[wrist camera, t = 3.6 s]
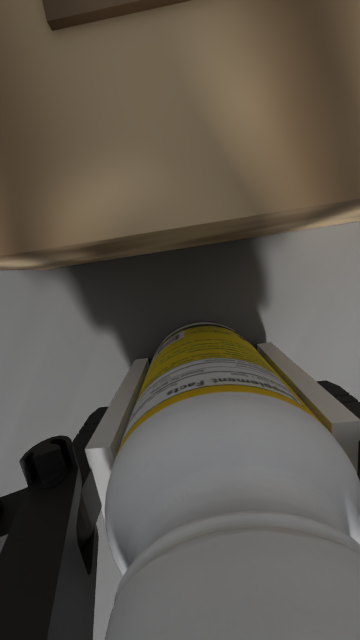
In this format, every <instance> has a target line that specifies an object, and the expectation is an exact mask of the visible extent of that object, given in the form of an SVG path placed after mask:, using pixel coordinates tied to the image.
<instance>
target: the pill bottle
mask: <svg viewBox="0 0 360 640" xmlns="http://www.w3.org/2000/svg"><path fill="white" fill-rule="evenodd" d="M105 525H106V532H107V538H108V542H109V545H110V549H111V552H112V554H113V557H114V560H115V562H116V564H117V566H118V567H119V569H120V571H121V573H122V575H123V577H122V580H121V582H120V584H119V587H118V590H117V592H116V596H115V601H114V607H113V609H112V612H111V615H110V619H109V624H108V628H107V633H106V637H105V640H360V480H359V478H358V475H357V473H356V471H355V469H354V467H353V465H352V463H351V461H350V459H349V458H348V456H347V454H346V453H345V451H344V450H343V449H342V447H341V446H340V445H339V443H338V442H337V441H336V439H335V438H334V437H333V435H332V434H331V433H330V432H329V430H328V429H327V428H326V427H325V426H324V425H323V424H322V423H321V421H320V420H319V419H318V418H317V417H316V416H315V415H314V414H313V412H312V411H311V410H310V409H309V408H308V407H307V406H306V405H305V403H304V402H303V401H302V400H301V399H300V398H299V397H298V396H297V394H296V393H295V392H294V391H293V390H292V389H291V387H290V386H288V384H287V383H286V382H285V381H284V380H283V379H282V378H281V377H280V376H279V375H278V373H277V372H276V371H275V370H274V369H273V368H272V367H271V366H270V365H269V364H268V362H267V361H266V360H265V359H264V358H263V357H262V356H261V355H260V353H259V352H258V351H257V350H256V349H255V348H254V347H253V346H252V345H251V344H250V343H249V342H248V341H247V340H246V339H245V338H244V337H243V336H242V335H241V334H240V333H238V332H236V331H235V330H233V329H231V328H229V327H227V326H224V325H221V324H217V323H211V322H199V323H193V324H189V325H186V326H183V327H181V328H179V329H177V330H175V331H174V332H173V333H171V334H170V335H169V336H168V337H167V338H165V339H164V341H163V342H162V343H161V344H160V346H159V347H158V349H157V351H156V352H155V354H154V356H153V359H152V361H151V364H150V367H149V369H148V372H147V375H146V377H145V380H144V383H143V385H142V388H141V391H140V393H139V396H138V399H137V401H136V404H135V407H134V409H133V412H132V414H131V417H130V420H129V423H128V425H127V428H126V431H125V433H124V436H123V439H122V441H121V444H120V447H119V449H118V452H117V455H116V458H115V461H114V464H113V467H112V471H111V474H110V478H109V481H108V486H107V491H106V498H105Z"/></svg>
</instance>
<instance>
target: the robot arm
mask: <svg viewBox="0 0 360 640" xmlns="http://www.w3.org/2000/svg"><path fill="white" fill-rule="evenodd" d="M257 351H258V352H259V353H260V355H261V356H262V357H263V358H264V359H265V360H266V361H267V362H268V364H269V365H270V366H271V367H272V368H273V369H274V370H275V371H276V372H277V373H278V375H279V376H280V377H281V378H282V379H283V380H284V381H285V382H286V383H287V384H288V386H290V387H291V389H292V390H293V391H294V392H295V393H296V394H297V396H298V397H299V398H300V399H301V400H302V401H303V402H304V403H305V405H306V406H307V407H308V408H309V409H310V410H311V411H312V412H313V414H314V415H315V416H316V417H317V418H318V419H319V420H320V421H321V423H322V424H323V425H324V426H325V427H326V428H327V429H328V430H329V432H330V433H331V434H332V435H333V437H334V438H335V439H336V441H337V442H338V443H339V445H340V446H341V447H342V449H343V450H344V451H345V453H346V454H347V456H348V458H349V459H350V461H351V463H352V465H353V467H354V469H355V471H356V473H357V475H358V478H359V480H360V402H358V400H357V399H356V398H354V397H353V396H352V395H349V393H348V392H346V391H345V390H344V389H342V388H341V387H340V386H338V385H335V384H333V383H331V382H328V381H317V382H316V381H315V380H314V379H313V378H311V377H310V376H309V375H308V374H307V373H306V372H304V371H303V370H302V369H301V368H300V367H299V366H298V365H296V364H295V363H294V362H293V361H292V360H291V359H289V358H288V357H287V356H286V355H285V354H284V353H282V352H281V351H280V350H279V349H278V348H277V347H276V346H274V345H273V344H272V343H271V342H270V343H262V344H257ZM149 367H150V366H149V361H148V358H144V359H136V360H135V361H134V362H133V364H132V366H131V368H130V370H129V371H128V373H127V375H126V377H125V379H124V380H123V382H122V384H121V386H120V387H119V389H118V391H117V393H116V395H115V396H114V398H113V400H112V402H111V403H110V405H109V407H100V408H98V409H97V410H96V411H94V412H93V413H92V414H91V415H90V416H89V417H88V419H87V420H86V422H85V423H84V426H83V427H82V428H81V430H80V431H79V434H77V436H76V437H75V439H74V440H73V442H72V441H71V439H70V438H69V437H67V436H56V437H51V438H49V439H46V440H44V441H42V442H40V443H38V444H37V445H35V446H34V447H32V448H31V449H30V450H29V451H28V452H26V453H25V454H24V456H23V457H22V458H21V460H20V461H19V462H20V465H21V468H22V470H23V473H24V476H25V479H26V481H27V484H28V487H27V488H25V489H22V490H19V491H17V492H14V493H11V494H8V495H6V496H3V497H0V640H93V624H94V606H95V589H96V572H97V555H98V537H99V536H98V529H97V526H96V522H97V519H98V516H99V513H100V510H101V509H102V513H103V516H104V520H105V498H106V491H107V486H108V481H109V478H110V474H111V471H112V467H113V464H114V461H115V458H116V455H117V452H118V449H119V447H120V444H121V441H122V439H123V436H124V433H125V431H126V428H127V425H128V423H129V420H130V417H131V414H132V412H133V409H134V407H135V404H136V401H137V399H138V396H139V393H140V391H141V388H142V385H143V383H144V380H145V377H146V375H147V372H148V369H149Z"/></svg>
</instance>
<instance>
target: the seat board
mask: <svg viewBox="0 0 360 640" xmlns="http://www.w3.org/2000/svg"><path fill="white" fill-rule="evenodd" d="M357 221H360V0H0V270H46V269H53V268H59V267H66V266H72V265H79V264H85V263H91V262H98V261H104V260H111V259H117V258H124V257H130V256H137V255H143V254H150V253H156V252H163V251H169V250H176V249H182V248H188V247H195V246H201V245H208V244H214V243H221V242H227V241H234V240H240V239H247V238H253V237H260V236H266V235H272V234H279V233H285V232H292V231H298V230H305V229H311V228H318V227H324V226H331V225H337V224H344V223H350V222H357Z"/></svg>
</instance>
